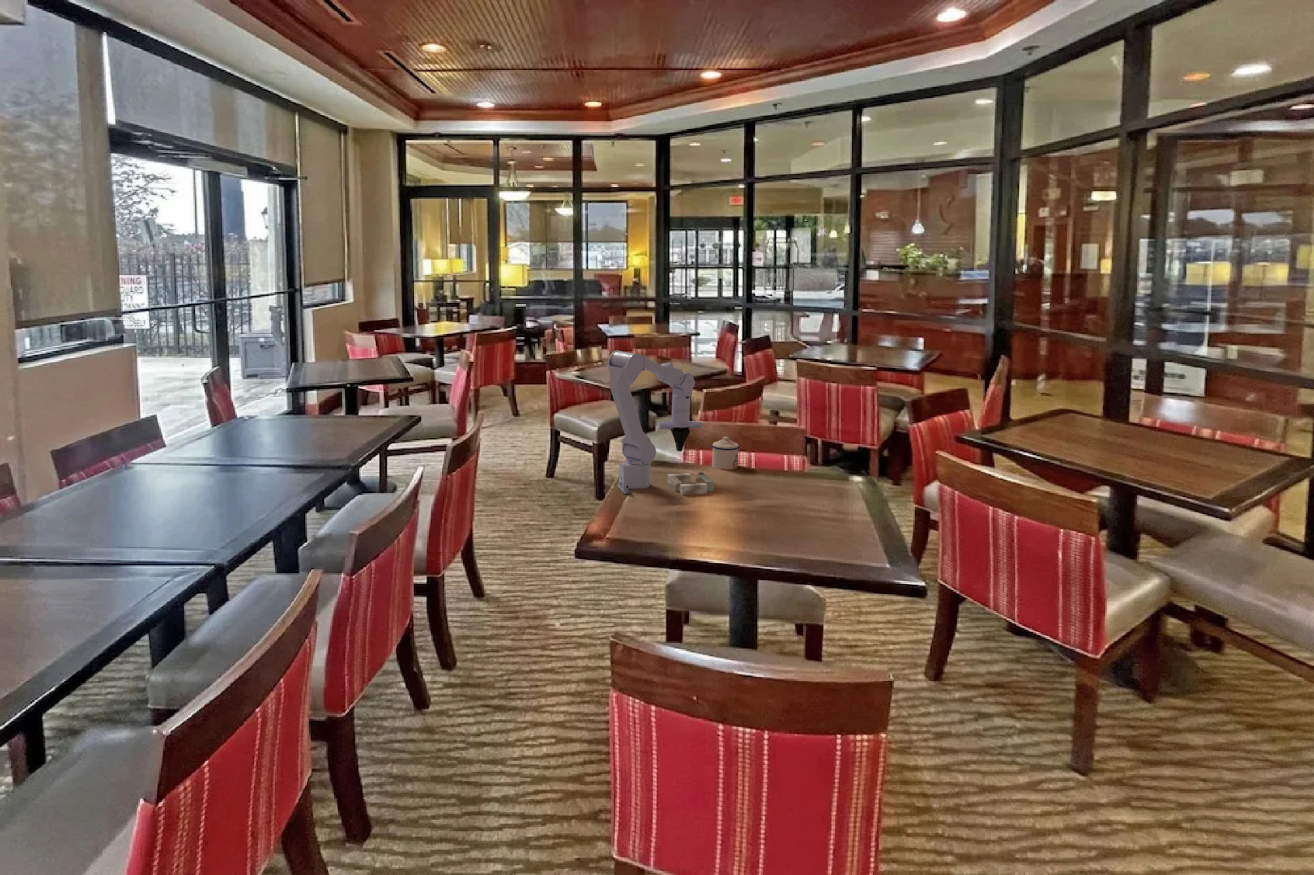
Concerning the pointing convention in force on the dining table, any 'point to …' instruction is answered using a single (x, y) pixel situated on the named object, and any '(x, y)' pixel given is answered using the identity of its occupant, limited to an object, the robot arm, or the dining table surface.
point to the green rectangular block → (706, 481)
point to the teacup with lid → (725, 454)
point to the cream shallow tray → (680, 484)
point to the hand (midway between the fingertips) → (679, 450)
